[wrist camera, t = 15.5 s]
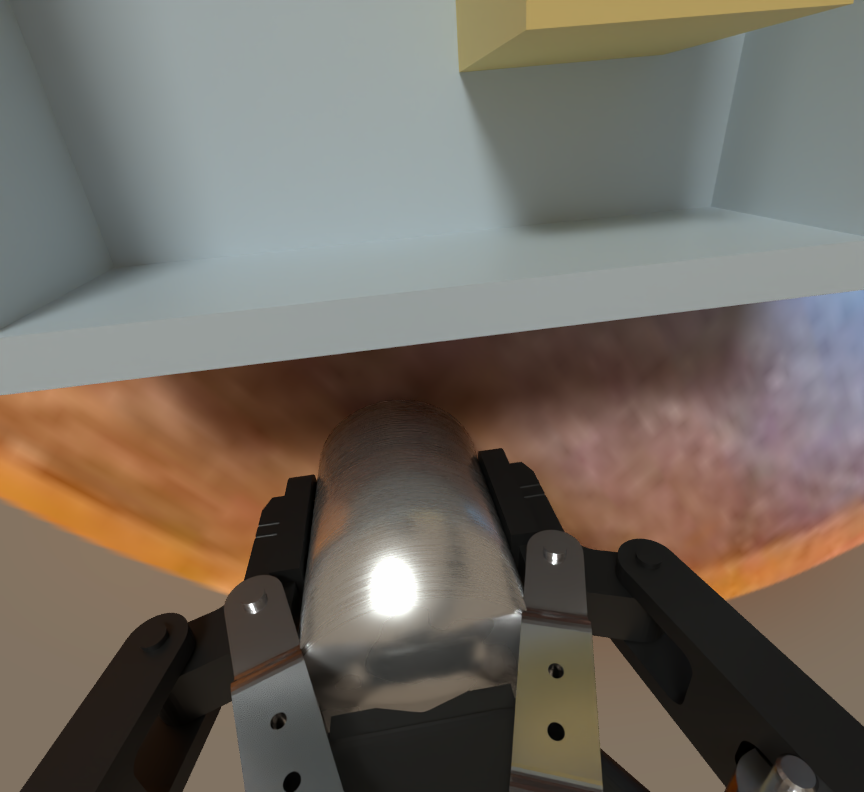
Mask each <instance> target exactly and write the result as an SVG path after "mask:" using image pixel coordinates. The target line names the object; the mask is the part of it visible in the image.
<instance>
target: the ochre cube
mask: <svg viewBox="0 0 864 792" xmlns="http://www.w3.org/2000/svg"><path fill="white" fill-rule="evenodd" d="M853 2H854V0H456V19H457V41H458V62H459V72H470V71H482V70H493V69H505V68H516V67H528V66H539V65H551V64H562V63H574V62H585V61H597V60H608V59H619V58H631V57H642V56H654V55H664V54H668V53H672V52H675V51H679V50H683V49H686V48H690V47H694V46H698V45H701V44H705V43H709V42H712V41H716V40H720V39H723V38H727V37H731V36H735V35H738V34H742V33H746V32H749V31H753V30H757V29H761V28H764V27H768V26H772V25H775V24H779V23H783V22H786V21H790V20H794V19H798V18H801V17H805V16H809V15H812V14H816V13H820V12H824V11H827V10H831V9H835V8H838V7H842V6H846V5H850V4H853Z"/></svg>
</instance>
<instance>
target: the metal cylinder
mask: <svg viewBox="0 0 864 792" xmlns="http://www.w3.org/2000/svg"><path fill="white" fill-rule="evenodd" d="M523 599H524V587H523V584H522V581H521V578H520V576H519V573H518V570H517V567H516V564H515V562H514V559H513V556H512V553H511V550H510V548H509V545H508V542H507V539H506V536H505V534H504V531H503V528H502V525H501V523H500V520H499V517H498V514H497V511H496V509H495V506H494V503H493V500H492V497H491V495H490V492H489V489H488V486H487V484H486V481H485V478H484V475H483V472H482V470H481V467H480V464H479V461H478V458H477V456H476V453H475V450H474V447H473V444H472V442H471V439H470V437H469V435H468V433H467V432H466V430H465V429H464V427H463V426H462V425H461V424H460V423H459V422H458V420H457V419H455V418H454V417H453V416H452V415H450V414H449V413H447V412H446V411H444V410H442V409H440V408H438V407H436V406H433V405H431V404H427V403H424V402H419V401H413V400H391V401H385V402H379V403H376V404H373V405H369V406H367V407H364V408H362V409H360V410H358V411H356V412H354V413H353V414H351V415H349V416H348V417H347V418H345V419H344V420H343V421H342V422H341V423H340V424H339V425H338V426H337V427H336V428H335V429H334V430H333V431H332V432H331V434H330V435H329V437H328V438H327V440H326V442H325V444H324V446H323V449H322V452H321V457H320V462H319V470H318V478H317V486H316V494H315V502H314V510H313V518H312V526H311V534H310V542H309V550H308V558H307V566H306V574H305V582H304V590H303V598H302V606H301V614H300V622H299V630H298V637H299V641H300V648H301V649H302V653H303V656H304V659H305V662H306V665H307V668H308V671H309V674H310V677H311V679H312V682H313V685H314V688H315V691H316V694H317V696H318V699H319V702H320V705H321V708H322V711H323V714H324V716H325V719H326V722H327V725H328V728H329V731H330V722H331V716H334V715H340V714H345V713H351V712H356V711H362V710H367V709H373V708H382V709H392V710H402V711H412V712H425V711H428V710H430V709H432V708H434V707H436V706H438V705H440V704H442V703H444V702H446V701H449V700H451V699H453V698H455V697H457V696H459V695H461V694H463V693H465V692H467V691H472V690H477V689H483V688H488V687H494V686H499V685H505V684H510V683H511V686H512V690H513V694H514V697H515V698H516V690H517V676H518V661H519V647H520V632H521V618H522V610H524V611H527V609H526V605H525V602H524V600H523Z"/></svg>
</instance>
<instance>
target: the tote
mask: <svg viewBox="0 0 864 792" xmlns="http://www.w3.org/2000/svg"><path fill="white" fill-rule="evenodd" d="M857 290H864V0H854V2H853V4H850V5H846V6H842V7H838V8H835V9H831V10H827V11H824V12H820V13H816V14H812V15H809V16H805V17H801V18H798V19H794V20H790V21H786V22H783V23H779V24H775V25H772V26H768V27H764V28H761V29H757V30H753V31H749V32H746V33H742V34H738V35H735V36H731V37H727V38H723V39H720V40H716V41H712V42H709V43H705V44H701V45H698V46H694V47H690V48H686V49H683V50H679V51H675V52H672V53H668V54H664V55H654V56H642V57H631V58H619V59H608V60H597V61H585V62H574V63H562V64H551V65H539V66H528V67H516V68H505V69H493V70H482V71H470V72H459V62H458V41H457V19H456V0H0V395H7V394H15V393H23V392H31V391H40V390H48V389H56V388H64V387H72V386H80V385H89V384H97V383H105V382H113V381H121V380H129V379H138V378H146V377H154V376H162V375H170V374H179V373H187V372H195V371H203V370H211V369H219V368H228V367H236V366H244V365H252V364H260V363H268V362H277V361H285V360H293V359H301V358H309V357H317V356H326V355H334V354H342V353H350V352H358V351H367V350H375V349H383V348H391V347H399V346H407V345H416V344H424V343H432V342H440V341H448V340H456V339H465V338H473V337H481V336H489V335H497V334H505V333H514V332H522V331H530V330H538V329H546V328H555V327H563V326H571V325H579V324H587V323H595V322H604V321H612V320H620V319H628V318H636V317H644V316H653V315H661V314H669V313H677V312H685V311H693V310H702V309H710V308H718V307H726V306H734V305H743V304H751V303H759V302H767V301H775V300H783V299H792V298H800V297H808V296H816V295H824V294H832V293H841V292H849V291H857Z"/></svg>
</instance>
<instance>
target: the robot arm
mask: <svg viewBox="0 0 864 792" xmlns="http://www.w3.org/2000/svg"><path fill="white" fill-rule="evenodd" d="M478 461H479V464H480V467H481V470H482V472H483V475H484V478H485V481H486V484H487V486H488V489H489V492H490V495H491V497H492V500H493V503H494V506H495V509H496V511H497V514H498V517H499V520H500V523H501V525H502V528H503V531H504V534H505V536H506V539H507V542H508V545H509V548H510V550H511V553H512V556H513V559H514V562H515V564H516V567H517V570H518V573H519V576H520V578H521V581H522V584H523V587H524V599H523V600H524V602H525V605H526V609H527V611H524V610H522V618H521V632H520V647H519V661H518V676H517V690H516V698H515V697H514V694H513V690H512V686H511V683H510V684H505V685H499V686H494V687H488V688H483V689H477V690H472V691H467V692H465V693H463V694H461V695H459V696H457V697H455V698H453V699H451V700H449V701H446V702H444V703H442V704H440V705H438V706H436V707H434V708H432V709H430V710H428V711H425V712H412V711H402V710H392V709H382V708H373V709H367V710H362V711H356V712H351V713H345V714H340V715H334V716H331V722H330V731H329V728H328V725H327V722H326V719H325V716H324V714H323V711H322V708H321V705H320V702H319V699H318V696H317V694H316V691H315V688H314V685H313V682H312V679H311V677H310V674H309V671H308V668H307V665H306V662H305V659H304V656H303V653H302V649H301V648H300V641H299V637H298V630H299V622H300V614H301V606H302V598H303V590H304V582H305V574H306V566H307V558H308V550H309V542H310V534H311V526H312V518H313V510H314V502H315V494H316V486H317V480H316V477H315V475H307V476H300V477H293V478H289V479H288V482H287V487H286V492H285V496H281V497H274V498H272V499H271V500H270V501H269V503H268V504H267V505H266V507H265V508H264V509H263V510H262V513H261V517H260V521H259V527H258V529H257V533H256V539H255V540H254V544H253V548H252V552H251V556H250V559H249V563H248V567H247V571H246V575H245V579H244V581H243V582H241V583H240V584H239V585H237V586H236V587H235V588H234V589H233V590H232V591H231V592H230V594H229V595H228V597H227V599H226V601H225V604H224V606H222V607H221V608H219V609H217V610H215V611H213V612H211V613H209V614H206V615H204V616H202V617H199V618H197V619H195V620H192V621H190V622H187V620H186V619H185V618H184V617H183V616H182V615H180V614H177V613H166V614H161V615H158V616H155V617H153V618H151V619H149V620H147V621H146V622H144V623H143V624H141V625H140V626H139V627H138V628H136V629H135V630H134V631H133V632H132V633H131V634H130V636H129V637H128V638H127V640H126V641H125V642H124V644H123V645H122V647H121V648H120V650H119V651H118V652H117V654H116V655H115V657H114V658H113V660H112V661H111V663H110V664H109V665H108V667H107V668H106V670H105V671H104V672H103V674H102V675H101V677H100V678H99V680H98V681H97V682H96V684H95V685H94V687H93V688H92V690H91V691H90V692H89V694H88V695H87V697H86V698H85V699H84V701H83V702H82V704H81V705H80V707H79V708H78V709H77V711H76V712H75V714H74V715H73V717H72V718H71V719H70V721H69V723H68V724H67V725H66V726H65V728H64V729H63V731H62V732H61V734H60V735H59V737H58V738H57V739H56V741H55V742H54V744H53V745H52V747H51V748H50V749H49V751H48V752H47V754H46V755H45V757H44V758H43V759H42V761H41V762H40V764H39V765H38V766H37V768H36V769H35V771H34V772H33V773H32V775H31V776H30V778H29V779H28V781H27V782H26V784H25V785H24V786H23V788H22V789H21V791H20V792H183V789H184V787H185V785H186V783H187V781H188V778H189V776H190V774H191V772H192V770H193V768H194V765H195V763H196V761H197V759H198V757H199V755H200V752H201V750H202V748H203V746H204V744H205V742H206V739H207V737H208V735H209V733H210V730H211V728H212V726H213V724H214V722H215V720H216V717H217V715H218V713H219V711H220V709H221V706H223V705H225V704H227V703H229V702H231V701H232V703H233V710H234V717H235V723H236V730H237V738H238V743H239V744H238V745H239V751H240V758H241V765H242V772H243V778H244V785H245V792H650V791H649V790H648V789H647V788H645V787H644V786H643V785H642V784H641V783H640V782H638V781H637V780H636V779H635V778H634V777H633V776H632V775H630V774H629V773H628V772H627V771H626V770H625V769H624V768H622V767H621V766H620V765H619V764H618V763H617V762H615V761H614V760H613V759H612V758H611V757H610V756H609V755H607V754H606V753H605V752H604V751H603V750H602V749H601V748H600V741H599V726H598V711H597V697H596V683H595V670H594V669H595V668H594V654H593V640H592V635H594V636H601V637H608V638H610V639H611V640H612V642H613V643H614V644H615V645H616V647H617V648H618V649H619V651H620V652H621V653H622V654H623V656H624V657H625V658H626V660H627V661H628V662H629V663H630V665H631V666H632V667H633V669H634V670H635V671H636V672H637V674H638V675H639V676H640V678H641V679H642V680H643V681H644V683H645V684H646V685H647V687H648V688H649V689H650V690H651V692H652V693H653V694H654V695H655V697H656V698H657V699H658V701H659V702H660V703H661V704H662V706H663V707H664V708H665V710H666V711H667V712H668V713H669V715H670V716H671V717H672V719H673V720H674V721H675V722H676V724H677V725H678V726H679V728H680V729H681V730H682V731H683V733H684V734H685V735H686V737H687V738H688V739H689V740H690V741H691V743H692V744H693V745H694V747H695V748H696V749H697V751H698V752H699V753H700V754H701V756H702V757H703V758H704V760H705V761H706V762H707V763H708V765H709V766H710V767H711V768H712V770H713V771H714V772H715V774H716V775H717V776H718V778H719V779H720V780H721V781H722V783H723V784H724V785H725V787H726V789H725V791H724V792H864V726H862V725H861V724H860V723H859V722H858V721H857V720H856V719H855V718H853V716H851V715H850V714H849V713H848V712H847V711H846V710H845V709H844V708H843V707H842V706H840V705H839V704H838V703H837V702H836V701H835V700H834V699H833V698H832V697H831V696H829V695H828V694H827V693H826V692H825V691H824V690H823V689H822V688H821V687H820V686H818V685H817V684H816V683H815V682H814V681H813V680H812V679H811V678H810V677H809V676H808V675H806V674H805V673H804V672H803V671H802V670H801V669H800V668H799V667H798V666H797V665H795V664H794V663H793V662H792V661H791V660H790V659H789V658H788V657H787V656H786V655H784V654H783V653H782V652H781V651H780V650H779V649H778V648H777V647H776V646H775V645H773V644H772V643H771V642H770V641H769V640H768V639H767V638H766V637H765V636H764V635H762V634H761V633H760V632H759V631H758V630H757V629H756V628H755V627H754V626H753V625H752V624H750V623H749V622H748V621H747V620H746V619H745V618H744V617H743V616H742V615H740V614H739V613H738V612H737V611H736V610H735V609H734V608H733V607H732V606H731V605H730V604H728V603H727V602H726V601H725V600H724V599H723V598H722V597H721V596H720V595H719V594H717V593H716V592H715V591H714V590H713V589H712V588H711V587H710V586H709V585H708V584H707V583H705V582H704V581H703V580H702V579H701V578H700V577H699V576H698V575H697V574H696V573H694V572H693V571H692V570H691V569H690V568H689V567H688V566H687V565H686V564H685V563H683V562H682V561H681V560H680V559H679V558H678V557H677V556H676V555H675V554H674V553H672V552H671V551H670V550H669V549H668V548H666V547H665V546H663V545H662V544H659V543H657V542H655V541H652V540H647V539H632V540H629V541H627V542H625V543H623V544H622V545H621V546H620V548H619V550H618V552H609V551H600V550H593V549H589V548H586V547H583V546H581V545H580V543H579V542H578V541H577V540H576V539H575V538H574V537H573V536H571V535H569V534H567V533H565V532H564V530H563V528H562V526H561V524H560V522H559V520H558V518H557V517H556V515H555V513H554V511H553V509H552V507H551V505H550V503H549V501H548V499H547V497H546V495H545V494H544V491H543V489H542V487H541V486H540V483H539V481H538V479H537V477H536V475H535V473H534V472H533V471H532V470H531V469H530V468H529V467H527V466H526V465H525V464H524V463H522V462H517V463H510V464H509V461H508V459H507V457H506V455H505V452H504V450H503V449H502V448H499V449H492V450H485V451H479V452H478Z"/></svg>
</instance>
